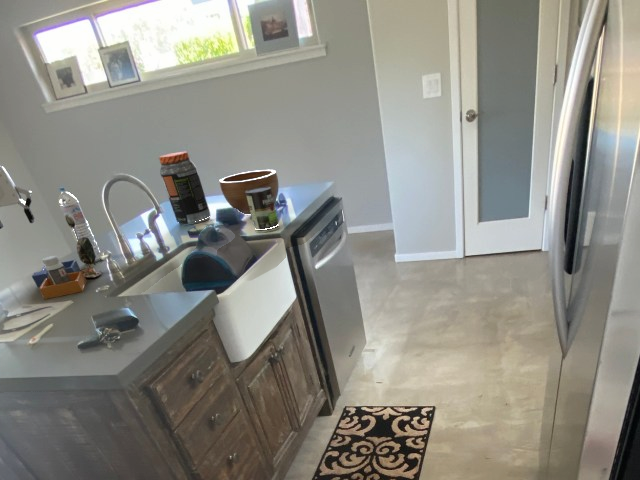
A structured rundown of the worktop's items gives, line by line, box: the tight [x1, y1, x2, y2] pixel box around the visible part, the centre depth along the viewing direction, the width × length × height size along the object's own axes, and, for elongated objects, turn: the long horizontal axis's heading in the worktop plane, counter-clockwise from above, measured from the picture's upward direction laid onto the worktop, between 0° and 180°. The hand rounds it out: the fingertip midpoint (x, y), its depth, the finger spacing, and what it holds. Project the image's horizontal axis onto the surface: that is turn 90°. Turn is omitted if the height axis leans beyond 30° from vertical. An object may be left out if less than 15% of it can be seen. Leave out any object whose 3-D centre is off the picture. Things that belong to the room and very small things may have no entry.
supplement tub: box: [158, 151, 211, 226], centre depth 230 cm, size 16×16×26 cm
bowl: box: [219, 169, 280, 215], centre depth 228 cm, size 25×25×15 cm
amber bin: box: [38, 270, 87, 300], centre depth 176 cm, size 12×12×4 cm
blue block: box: [31, 270, 49, 290], centre depth 182 cm, size 5×5×5 cm
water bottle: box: [57, 186, 102, 263], centre depth 196 cm, size 7×7×25 cm
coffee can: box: [245, 187, 280, 234], centre depth 206 cm, size 10×10×14 cm
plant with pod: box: [64, 215, 103, 278], centre depth 181 cm, size 8×11×20 cm
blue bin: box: [40, 259, 81, 274], centre depth 190 cm, size 11×11×4 cm
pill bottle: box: [41, 255, 71, 285], centre depth 174 cm, size 6×6×10 cm
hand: (16, 225), depth 170 cm, fingers open, 9 cm apart
